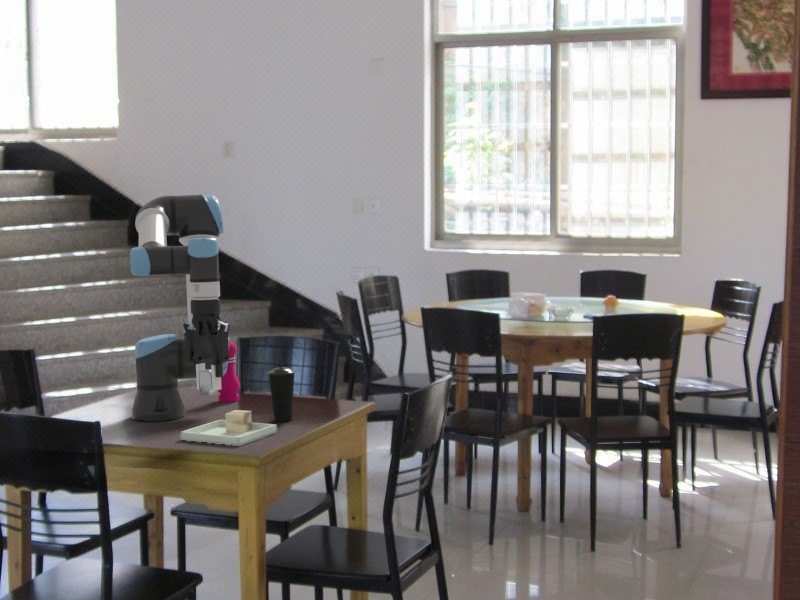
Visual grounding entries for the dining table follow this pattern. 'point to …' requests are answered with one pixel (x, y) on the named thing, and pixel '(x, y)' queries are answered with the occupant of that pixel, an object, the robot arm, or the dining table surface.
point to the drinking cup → (282, 391)
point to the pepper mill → (230, 379)
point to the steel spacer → (206, 382)
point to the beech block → (238, 421)
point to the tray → (218, 435)
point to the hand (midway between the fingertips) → (209, 389)
